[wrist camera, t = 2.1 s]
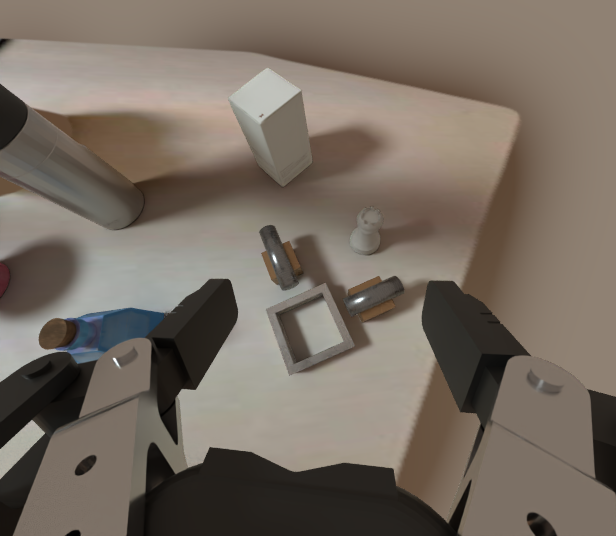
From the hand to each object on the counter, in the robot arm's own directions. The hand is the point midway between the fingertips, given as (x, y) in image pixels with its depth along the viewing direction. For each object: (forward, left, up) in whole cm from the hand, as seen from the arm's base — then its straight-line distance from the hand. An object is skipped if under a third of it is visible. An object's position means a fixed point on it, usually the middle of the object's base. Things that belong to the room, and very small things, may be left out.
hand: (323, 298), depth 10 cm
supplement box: (-30, +4, -24) cm, 38 cm away
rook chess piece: (-10, +9, -24) cm, 28 cm away
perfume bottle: (-11, -27, -24) cm, 38 cm away
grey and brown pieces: (-7, +1, -24) cm, 25 cm away
